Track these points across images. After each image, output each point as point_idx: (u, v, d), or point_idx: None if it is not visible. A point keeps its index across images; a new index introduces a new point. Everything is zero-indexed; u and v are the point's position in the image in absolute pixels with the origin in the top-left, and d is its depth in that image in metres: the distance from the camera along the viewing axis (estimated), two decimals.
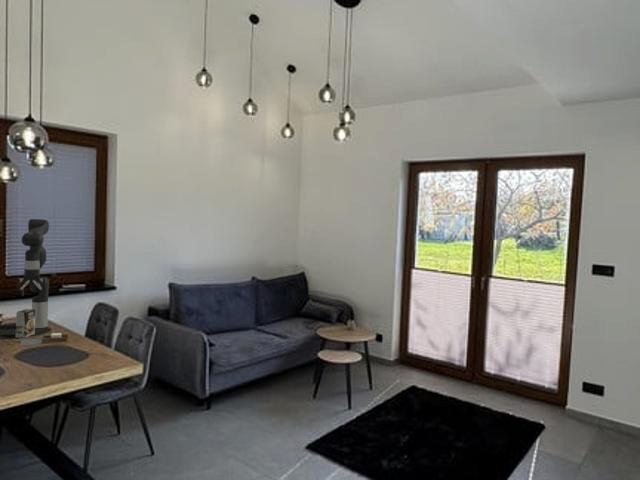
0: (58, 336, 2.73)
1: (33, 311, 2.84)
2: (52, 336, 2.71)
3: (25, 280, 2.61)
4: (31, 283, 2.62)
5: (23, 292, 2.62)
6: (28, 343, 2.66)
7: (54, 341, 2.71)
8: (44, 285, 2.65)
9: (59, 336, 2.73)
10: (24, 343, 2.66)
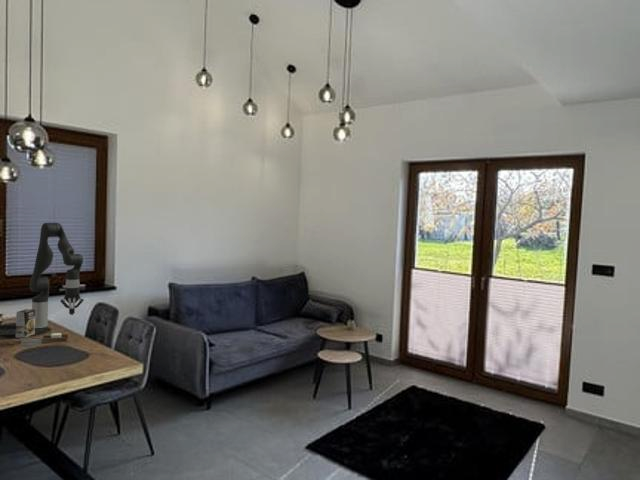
0: (58, 336, 2.73)
1: (33, 311, 2.84)
2: (52, 336, 2.71)
3: (67, 300, 2.75)
4: (72, 301, 2.76)
5: None
6: (28, 343, 2.66)
7: (54, 341, 2.71)
8: (78, 305, 2.77)
9: (59, 336, 2.73)
10: (24, 343, 2.66)
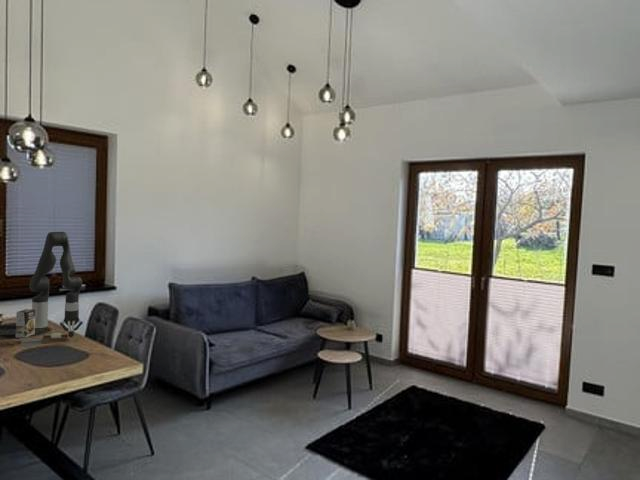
0: (58, 336, 2.73)
1: (33, 311, 2.84)
2: (52, 336, 2.71)
3: (66, 323, 2.75)
4: (71, 323, 2.77)
5: None
6: (28, 343, 2.66)
7: (54, 341, 2.71)
8: (77, 327, 2.78)
9: (59, 336, 2.73)
10: (24, 343, 2.66)
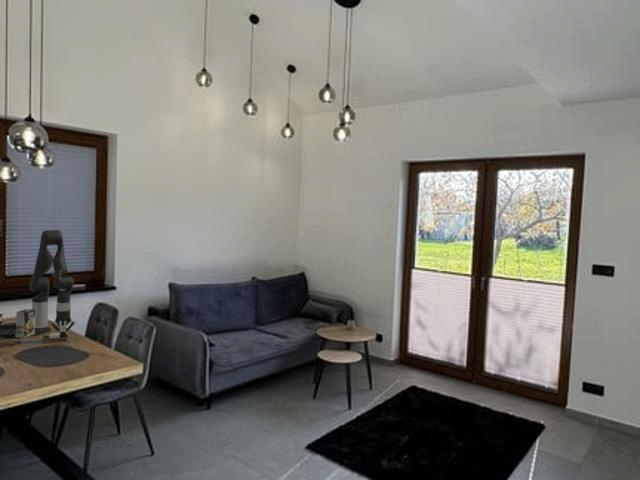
0: (56, 336, 2.72)
1: (33, 311, 2.84)
2: (50, 336, 2.71)
3: (57, 323, 2.74)
4: (63, 324, 2.75)
5: None
6: (28, 343, 2.66)
7: (54, 341, 2.71)
8: (69, 328, 2.76)
9: (57, 336, 2.73)
10: (24, 343, 2.66)
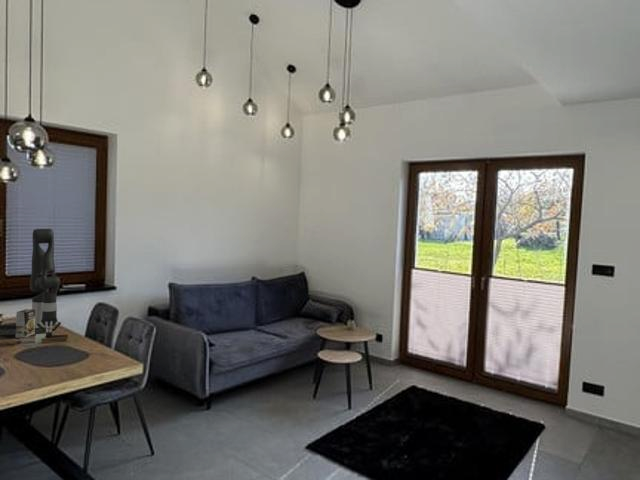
0: (42, 337, 2.69)
1: (33, 311, 2.84)
2: (36, 337, 2.68)
3: (43, 323, 2.70)
4: (49, 324, 2.72)
5: None
6: (28, 343, 2.66)
7: (54, 341, 2.71)
8: (55, 328, 2.73)
9: (43, 337, 2.69)
10: (24, 343, 2.66)
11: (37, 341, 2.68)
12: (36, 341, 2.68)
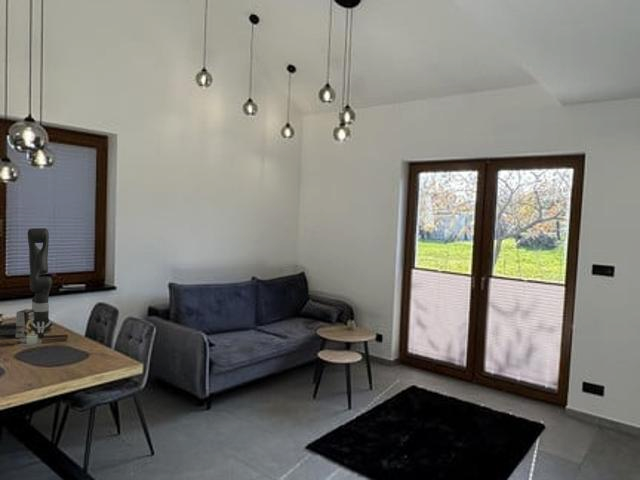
0: (34, 338, 2.67)
1: (33, 311, 2.84)
2: (28, 338, 2.66)
3: (35, 324, 2.68)
4: (40, 324, 2.70)
5: None
6: None
7: (54, 341, 2.71)
8: (47, 329, 2.71)
9: (35, 337, 2.67)
10: (24, 343, 2.66)
11: (29, 342, 2.66)
12: (28, 342, 2.66)
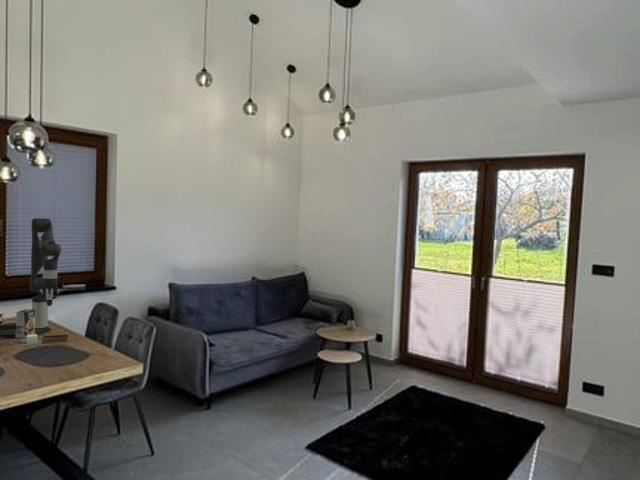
0: (34, 338, 2.67)
1: (33, 311, 2.84)
2: (28, 338, 2.66)
3: (44, 291, 2.70)
4: (49, 292, 2.71)
5: None
6: None
7: (54, 341, 2.71)
8: (56, 296, 2.72)
9: (35, 337, 2.67)
10: (24, 343, 2.66)
11: (29, 342, 2.66)
12: (28, 342, 2.66)
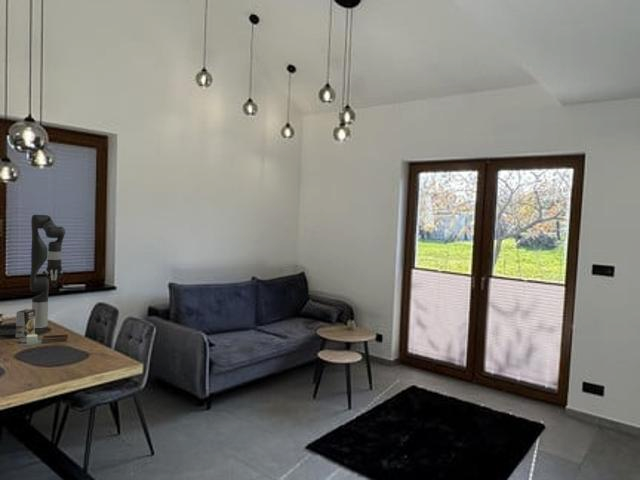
0: (34, 338, 2.67)
1: (33, 311, 2.84)
2: (28, 338, 2.66)
3: (49, 271, 2.80)
4: (54, 272, 2.81)
5: None
6: None
7: (54, 341, 2.71)
8: (60, 277, 2.83)
9: (35, 337, 2.67)
10: (24, 343, 2.66)
11: (29, 342, 2.66)
12: (28, 342, 2.66)
